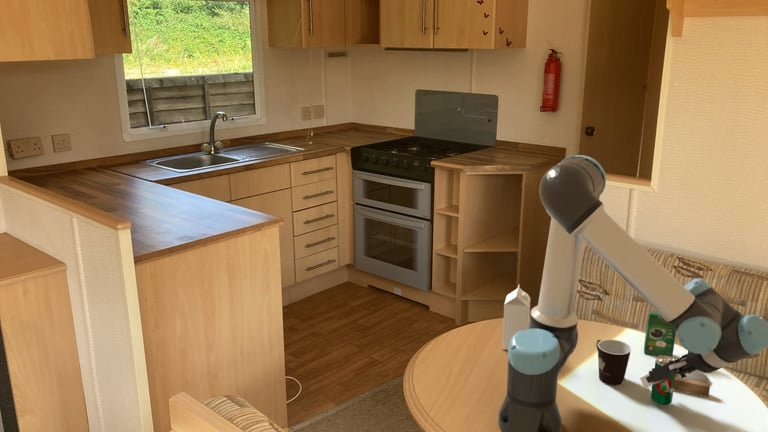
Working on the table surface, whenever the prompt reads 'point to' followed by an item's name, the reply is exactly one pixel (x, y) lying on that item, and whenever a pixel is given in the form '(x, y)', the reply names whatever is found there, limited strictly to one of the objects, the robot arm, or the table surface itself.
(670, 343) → the coffee box
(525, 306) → the milk carton
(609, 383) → the coffee mug
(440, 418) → the table surface
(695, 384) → the rail
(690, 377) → the grey domed button
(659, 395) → the soda can
